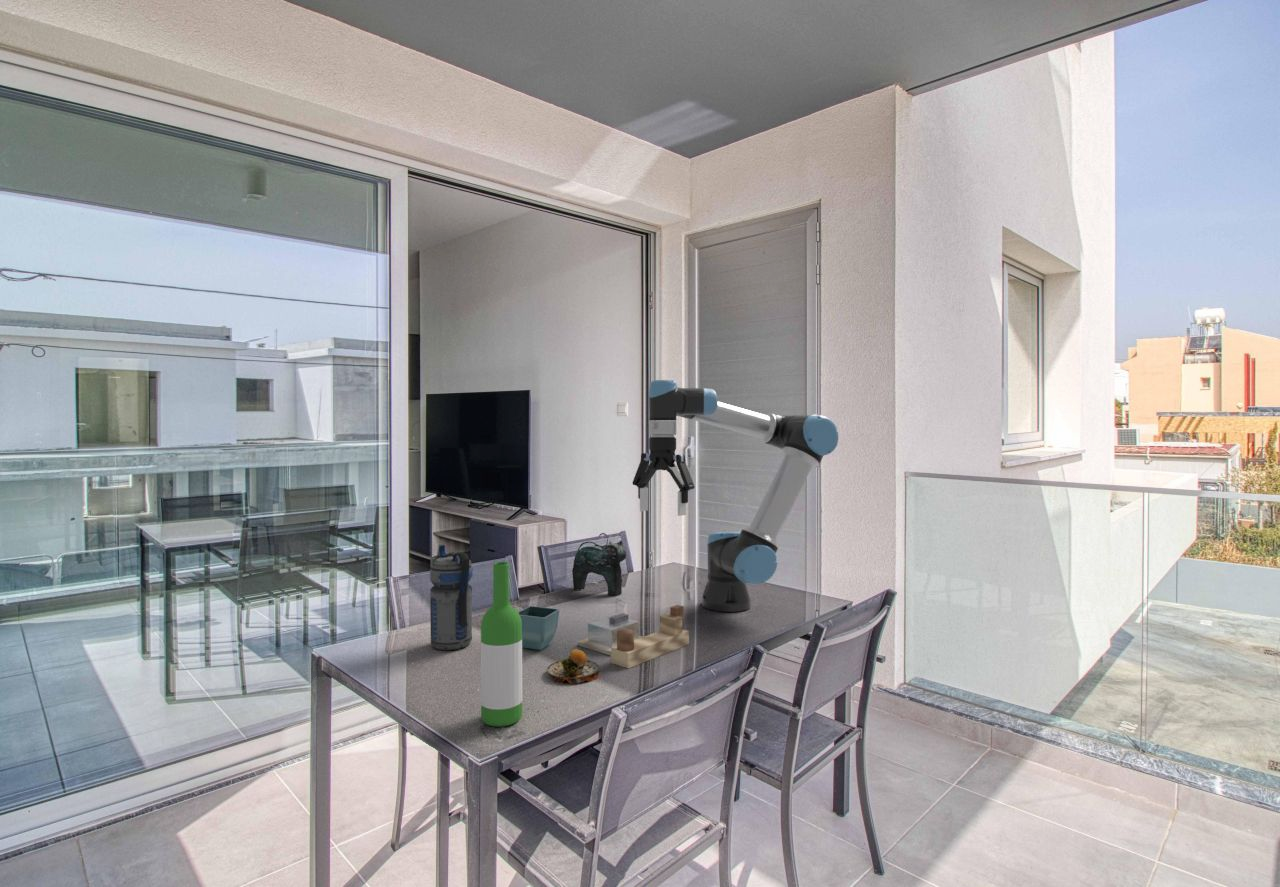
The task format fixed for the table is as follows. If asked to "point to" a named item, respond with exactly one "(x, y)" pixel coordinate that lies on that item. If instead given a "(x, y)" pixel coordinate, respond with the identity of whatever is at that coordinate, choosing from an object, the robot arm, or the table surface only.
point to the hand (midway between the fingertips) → (662, 513)
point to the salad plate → (574, 669)
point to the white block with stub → (611, 629)
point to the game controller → (600, 565)
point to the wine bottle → (501, 655)
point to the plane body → (651, 640)
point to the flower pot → (538, 626)
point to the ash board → (596, 646)
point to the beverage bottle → (450, 600)
